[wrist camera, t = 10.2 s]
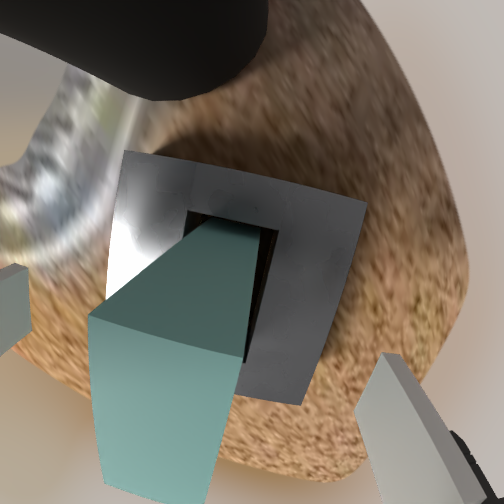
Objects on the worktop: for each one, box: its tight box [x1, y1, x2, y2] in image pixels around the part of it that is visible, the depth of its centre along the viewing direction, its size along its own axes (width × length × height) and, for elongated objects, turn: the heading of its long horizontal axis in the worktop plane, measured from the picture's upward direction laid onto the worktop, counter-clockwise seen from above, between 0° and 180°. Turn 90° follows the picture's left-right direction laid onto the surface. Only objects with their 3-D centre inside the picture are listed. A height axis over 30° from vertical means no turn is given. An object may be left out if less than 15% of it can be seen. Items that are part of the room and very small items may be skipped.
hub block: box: [106, 150, 368, 406], centre depth 18 cm, size 12×12×4 cm
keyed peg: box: [88, 217, 261, 504], centre depth 13 cm, size 6×3×14 cm, turn 168°
